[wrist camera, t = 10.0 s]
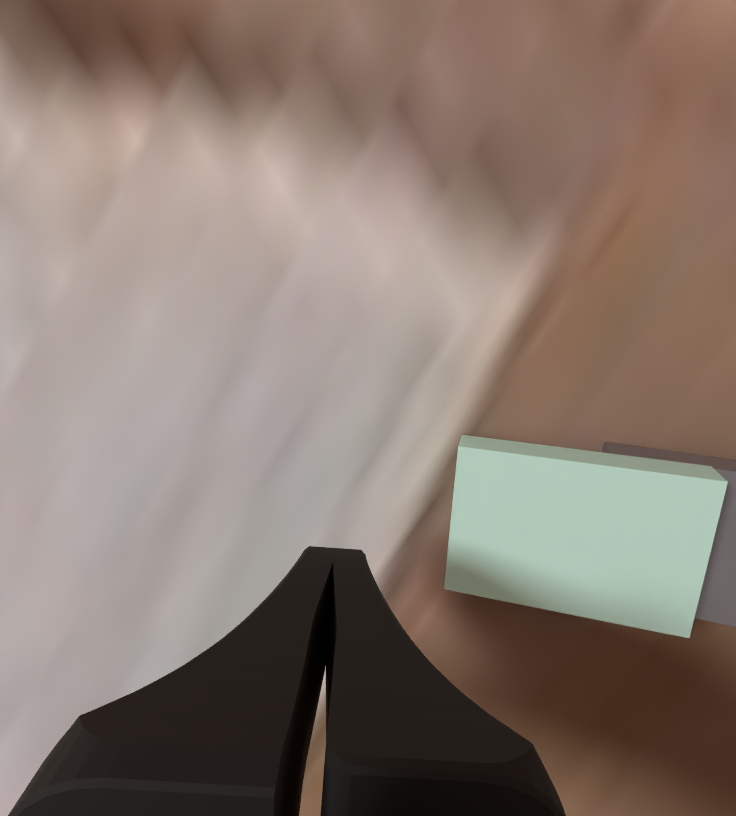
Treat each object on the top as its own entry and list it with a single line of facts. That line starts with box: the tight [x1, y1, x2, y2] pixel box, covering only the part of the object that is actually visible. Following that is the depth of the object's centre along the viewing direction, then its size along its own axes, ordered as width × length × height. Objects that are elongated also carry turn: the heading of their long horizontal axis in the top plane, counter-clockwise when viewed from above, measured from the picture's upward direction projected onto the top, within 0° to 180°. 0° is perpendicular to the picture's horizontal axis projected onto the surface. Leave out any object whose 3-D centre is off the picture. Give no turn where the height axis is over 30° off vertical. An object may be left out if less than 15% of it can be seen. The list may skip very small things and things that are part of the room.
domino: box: [602, 442, 736, 627], centre depth 16 cm, size 1×5×7 cm
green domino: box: [444, 435, 728, 638], centre depth 15 cm, size 1×5×7 cm
